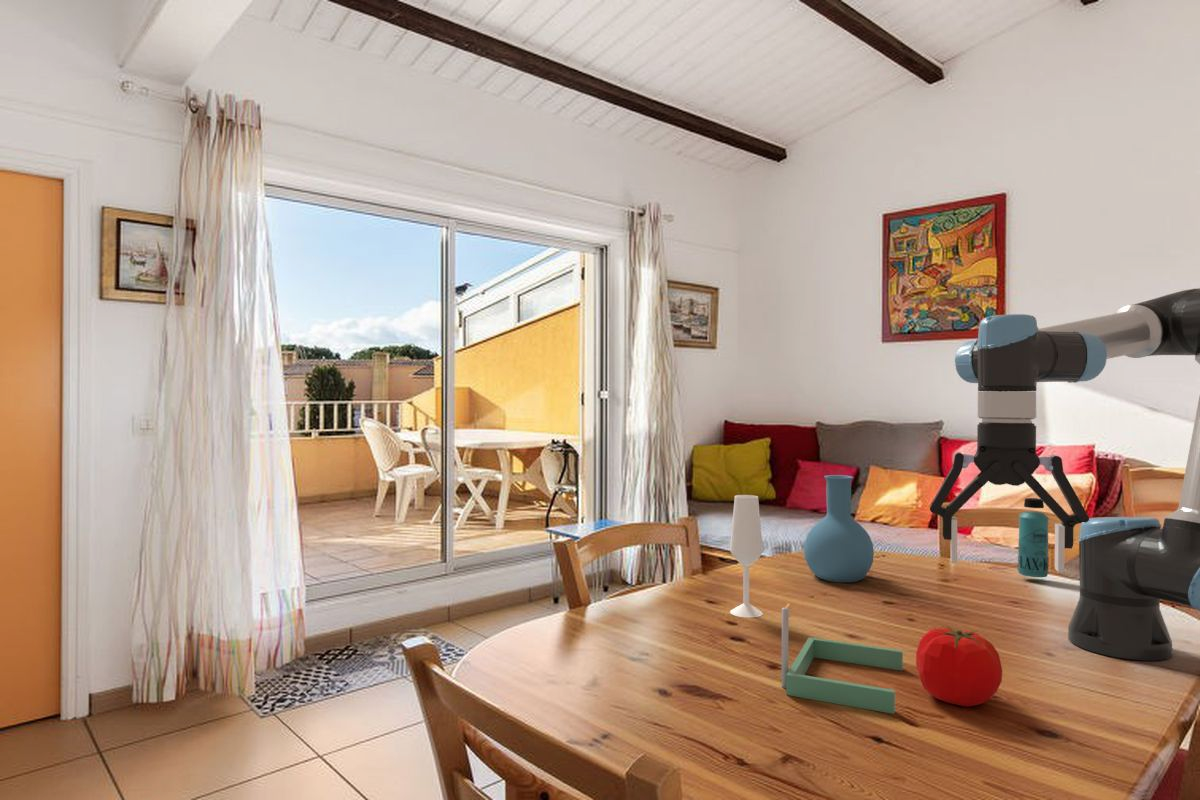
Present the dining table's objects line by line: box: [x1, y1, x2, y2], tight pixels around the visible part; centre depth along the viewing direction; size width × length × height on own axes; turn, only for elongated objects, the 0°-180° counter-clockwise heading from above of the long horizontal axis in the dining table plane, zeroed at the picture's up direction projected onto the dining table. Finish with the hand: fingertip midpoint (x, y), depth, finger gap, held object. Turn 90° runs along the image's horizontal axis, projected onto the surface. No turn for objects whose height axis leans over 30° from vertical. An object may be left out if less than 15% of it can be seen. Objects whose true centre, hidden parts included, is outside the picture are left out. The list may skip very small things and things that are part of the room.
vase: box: [803, 474, 875, 584], centre depth 180 cm, size 16×16×25 cm
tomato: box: [915, 625, 1003, 708], centre depth 107 cm, size 12×12×10 cm
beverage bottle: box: [1017, 497, 1050, 578], centre depth 177 cm, size 6×7×20 cm
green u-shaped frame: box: [781, 602, 904, 715], centre depth 114 cm, size 16×19×12 cm
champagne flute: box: [729, 494, 764, 619], centre depth 150 cm, size 7×7×24 cm
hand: (1005, 566), depth 107 cm, fingers open, 13 cm apart
